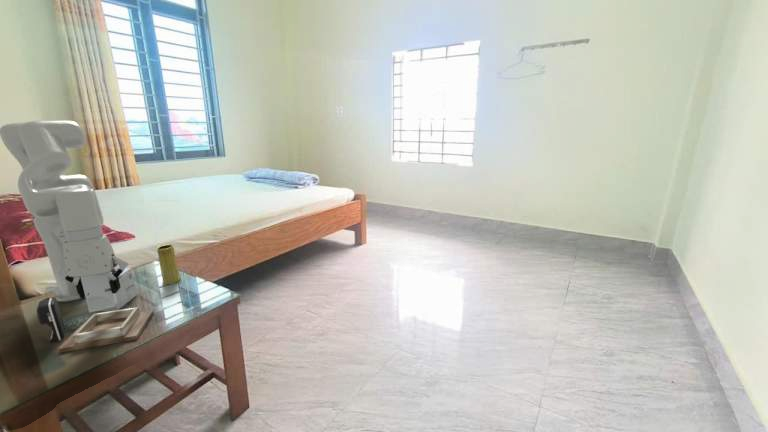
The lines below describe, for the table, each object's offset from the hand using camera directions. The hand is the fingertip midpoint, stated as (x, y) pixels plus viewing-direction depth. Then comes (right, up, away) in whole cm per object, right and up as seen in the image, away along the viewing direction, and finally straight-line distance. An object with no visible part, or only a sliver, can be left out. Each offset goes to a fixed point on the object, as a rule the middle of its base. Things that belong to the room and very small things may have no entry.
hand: (100, 293), depth 95 cm
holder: (0, -12, +4) cm, 13 cm away
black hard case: (-14, -13, +1) cm, 19 cm away
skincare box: (0, -4, +1) cm, 5 cm away
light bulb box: (-11, -8, +20) cm, 24 cm away
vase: (-2, -4, +35) cm, 36 cm away
